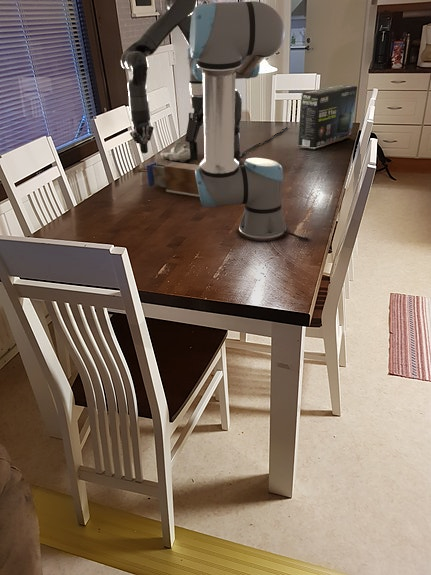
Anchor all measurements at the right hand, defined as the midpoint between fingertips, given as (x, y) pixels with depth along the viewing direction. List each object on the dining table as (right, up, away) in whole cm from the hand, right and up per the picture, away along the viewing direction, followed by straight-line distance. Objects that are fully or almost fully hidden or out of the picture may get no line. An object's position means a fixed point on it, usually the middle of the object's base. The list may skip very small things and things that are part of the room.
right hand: (203, 155), depth 174 cm
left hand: (-25, +5, +13) cm, 28 cm away
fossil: (-14, +14, +55) cm, 59 cm away
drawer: (-16, -8, +16) cm, 24 cm away
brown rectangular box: (-5, -12, +11) cm, 17 cm away
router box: (+63, +27, +70) cm, 98 cm away
